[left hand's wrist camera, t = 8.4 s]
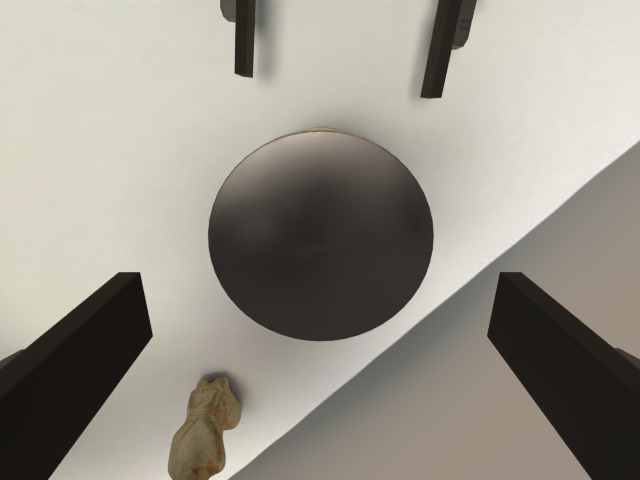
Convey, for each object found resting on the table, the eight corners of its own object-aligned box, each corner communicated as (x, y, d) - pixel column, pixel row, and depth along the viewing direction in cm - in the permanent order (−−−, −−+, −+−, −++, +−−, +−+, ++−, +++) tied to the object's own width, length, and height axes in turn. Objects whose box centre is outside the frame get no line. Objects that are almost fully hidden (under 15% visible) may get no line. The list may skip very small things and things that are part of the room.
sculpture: (204, 417, 45) (151, 559, 31) (189, 373, 42) (125, 505, 28) (249, 413, 45) (216, 553, 31) (237, 368, 42) (195, 498, 28)
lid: (225, 325, 22) (219, 340, 20) (205, 127, 18) (195, 129, 16) (413, 326, 22) (420, 342, 20) (438, 129, 18) (448, 131, 16)
